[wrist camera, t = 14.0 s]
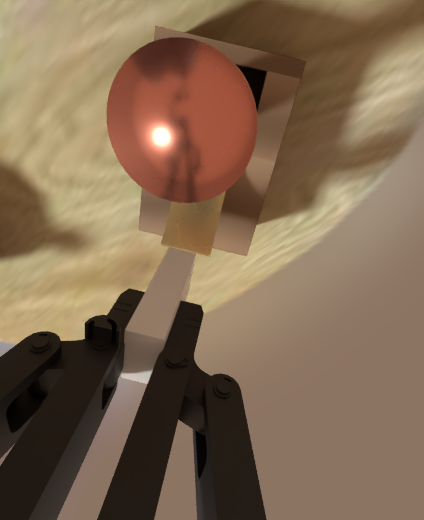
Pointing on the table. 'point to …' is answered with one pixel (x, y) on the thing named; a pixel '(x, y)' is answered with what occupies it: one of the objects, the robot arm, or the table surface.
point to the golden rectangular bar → (193, 225)
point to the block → (264, 155)
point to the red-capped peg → (182, 120)
